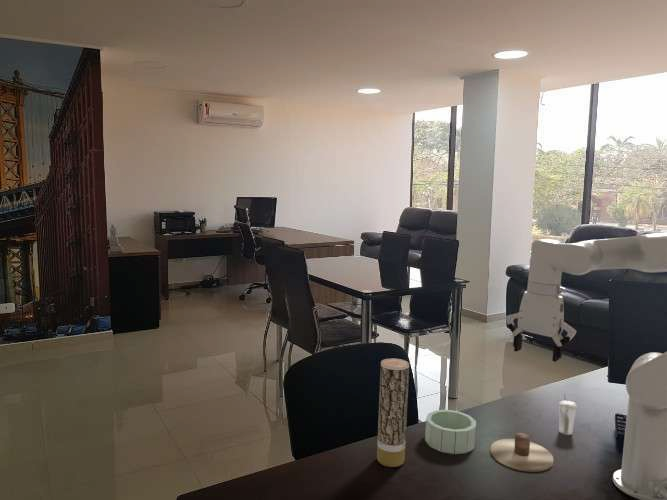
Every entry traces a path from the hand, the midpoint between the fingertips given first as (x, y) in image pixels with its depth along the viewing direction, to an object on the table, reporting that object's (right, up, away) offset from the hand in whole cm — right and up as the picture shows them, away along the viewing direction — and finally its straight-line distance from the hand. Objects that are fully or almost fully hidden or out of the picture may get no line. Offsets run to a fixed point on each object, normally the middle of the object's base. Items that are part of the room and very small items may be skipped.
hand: (536, 355), depth 133 cm
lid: (-4, -26, +1) cm, 26 cm away
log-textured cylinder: (-37, -26, -4) cm, 45 cm away
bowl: (-20, -25, +7) cm, 33 cm away
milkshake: (+14, -25, +15) cm, 32 cm away
